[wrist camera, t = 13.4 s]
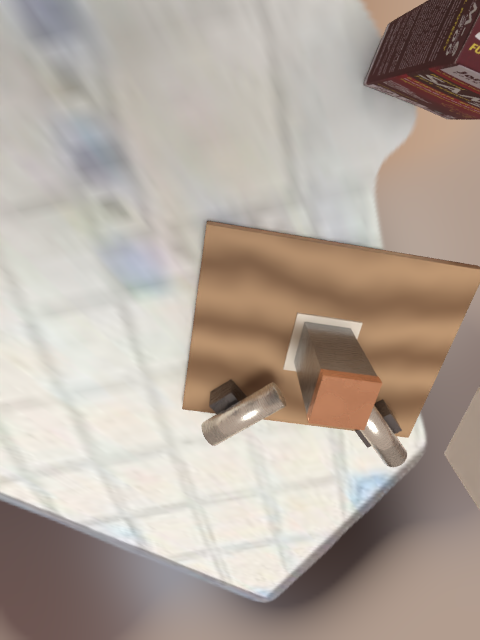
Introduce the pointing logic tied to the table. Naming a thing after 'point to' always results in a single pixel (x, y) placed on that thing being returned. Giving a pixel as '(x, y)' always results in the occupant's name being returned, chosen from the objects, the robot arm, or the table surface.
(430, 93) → the supplement box
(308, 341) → the block
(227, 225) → the cradle board
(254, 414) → the shaft
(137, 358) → the table surface
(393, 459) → the shaft
